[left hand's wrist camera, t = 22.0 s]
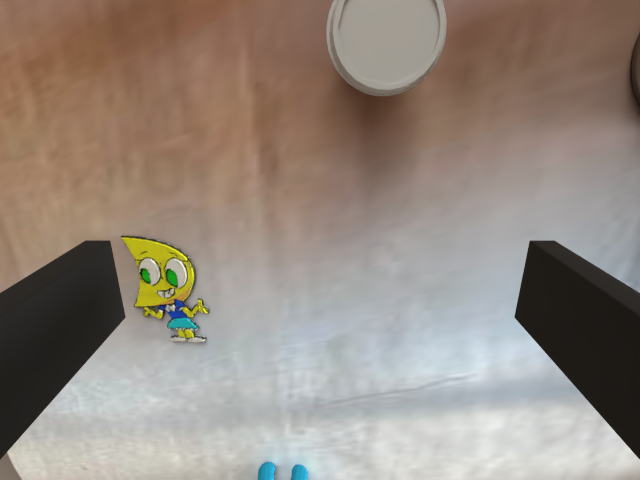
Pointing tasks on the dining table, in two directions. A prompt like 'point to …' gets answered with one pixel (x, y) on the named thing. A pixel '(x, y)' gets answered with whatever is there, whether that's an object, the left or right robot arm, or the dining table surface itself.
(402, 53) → the disposable coffee cup
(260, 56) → the dining table surface
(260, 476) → the toy
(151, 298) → the toy
